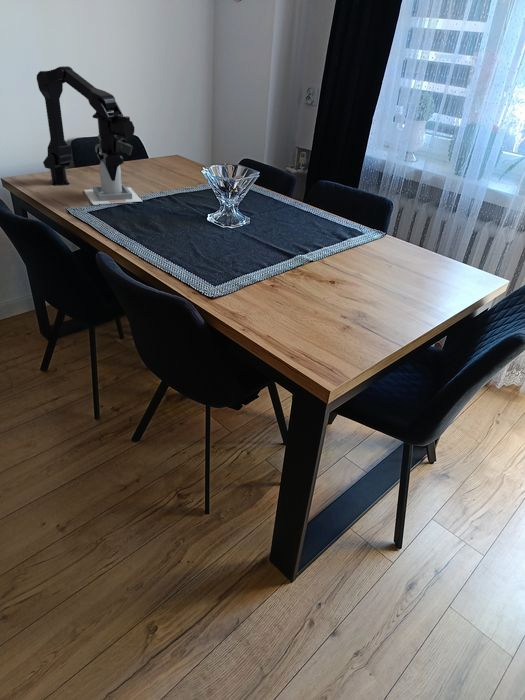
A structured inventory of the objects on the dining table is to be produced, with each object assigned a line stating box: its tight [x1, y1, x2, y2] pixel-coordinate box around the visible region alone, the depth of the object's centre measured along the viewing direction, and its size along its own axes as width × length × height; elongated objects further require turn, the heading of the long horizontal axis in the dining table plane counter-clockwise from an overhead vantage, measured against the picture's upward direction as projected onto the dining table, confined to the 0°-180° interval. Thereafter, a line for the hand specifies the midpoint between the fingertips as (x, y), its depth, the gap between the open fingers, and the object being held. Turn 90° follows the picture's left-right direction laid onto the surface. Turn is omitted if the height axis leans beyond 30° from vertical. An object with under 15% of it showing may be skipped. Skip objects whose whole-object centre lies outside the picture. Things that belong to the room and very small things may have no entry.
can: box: [98, 159, 123, 195], centre depth 186 cm, size 8×8×12 cm
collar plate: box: [83, 184, 143, 206], centre depth 189 cm, size 18×18×3 cm
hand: (110, 177), depth 186 cm, fingers closed on can, 7 cm apart
